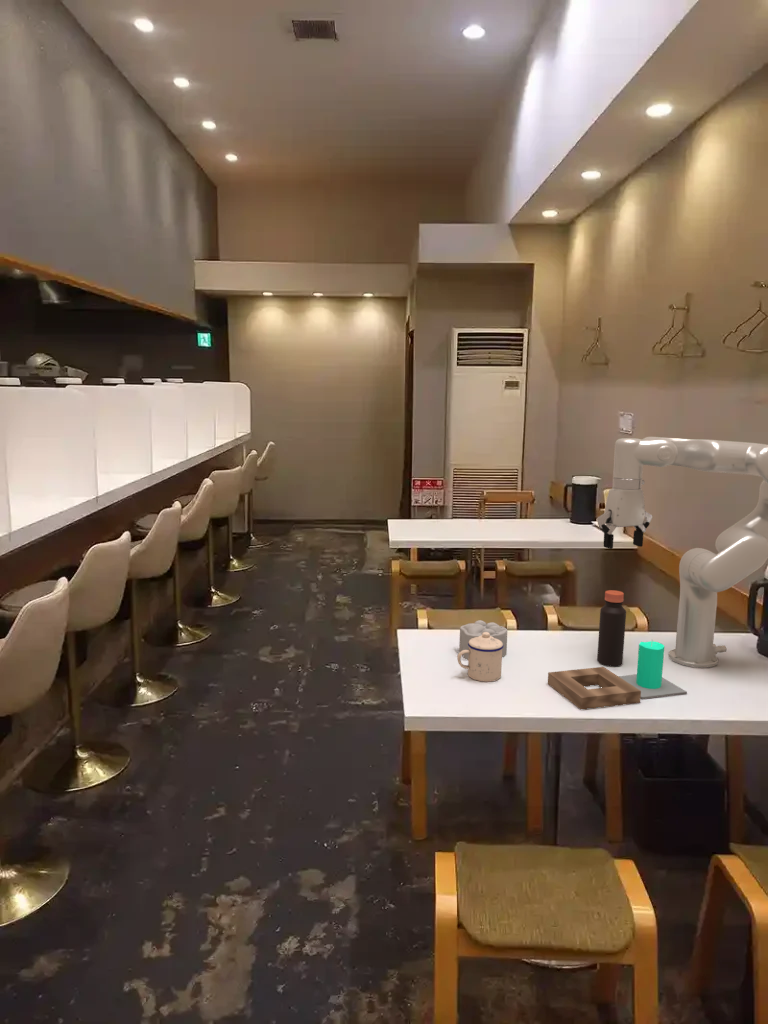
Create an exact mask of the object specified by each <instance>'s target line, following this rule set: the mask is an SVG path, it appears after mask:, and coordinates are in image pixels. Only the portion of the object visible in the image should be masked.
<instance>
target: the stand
mask: <svg viewBox="0 0 768 1024" xmlns="http://www.w3.org/2000/svg"><path fill="white" fill-rule="evenodd" d="M619 676H620V675H617V674H616V673H614V672H612V671H611V670H609V669H608V668H606V667H604V666H598V667H589V668H580V669H570V670H559V671H548V673H547V685H548V686H550V687H551V688H552V689H554V690H555V691H556V692H557V693H559V694H560V695H562V697H564V698H565V699H567V701H569V702H571V704H573V705H574V706H575V707H577V708H578V709H579V708H580V709H579V710H581V709H585V710H588V709H587V708H593V709H597V708H596V707H601V708H605V707H604V706H609V707H614V706H615V705H618V706H623V704H626V705H631V704H632V705H634V704H640V703H641V699H640V698H641V691H640V690H639V689H637V688H636V687H634V686H633V685H631V684H629V683H628V682H626V681H625V680H623V679H622V678H620V677H619ZM590 685H594V686H598V685H599V686H598V688H597V687H596V688H590V689H589V688H586V687H591V686H590ZM584 686H585V687H584ZM601 687H602V688H601Z"/></svg>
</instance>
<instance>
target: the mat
mask: <svg viewBox="0 0 768 1024" xmlns="http://www.w3.org/2000/svg"><path fill="white" fill-rule="evenodd" d="M618 676H619V677H620V678H622V679H623V680H625V681H626V682H628V683H629V684H631V685H633V686H634V687H636V688H637V689H639V690H640V691H641V698H640V700H650V699H656V698H666V697H675V696H682V695H687V694H688V691H686V690H684V689H683V688H681V687H680V686H678V685H676V684H674V683H673V682H671V681H669V680H667V679H666V678H665V677H663V676H662V683H661V687H660V688H657V689H648V688H644V687H641V686H639V685H637V683H636V678H637V673H636V674H628V675H627V674H626V675H618Z"/></svg>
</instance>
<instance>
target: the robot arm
mask: <svg viewBox="0 0 768 1024" xmlns="http://www.w3.org/2000/svg"><path fill="white" fill-rule="evenodd" d="M613 453H614V454H613V455H614V456H613V472H612V487H611V488H609V490H608V492H607V496H606V501H605V507H604V513H602V514H601V515H599V516H598V517H597V518H596V521H597V524H598V528H600V530H601V532H602V533H603V547H604V548H606V549H609V550H612V549H613V548H614V537H615V536H614V534H613V533H614V531H615V530H616V528H624V527H625V528H626V527H634V528H635V530H634V531H633V538H632V539H633V540H632V545H633V546H636V547H640V548H641V547H643V544H644V543H643V542H644V533H645V532H646V531H647V529H648V527H649V526H650V523H651V521H652V518H653V515H652V514H651V513H649V512H648V511H646V510H645V494H644V490H643V489H642V488H643V485H645V479H643V475H644V473H643V472H644V466H649V467H656V468H657V467H658V468H664V467H668V466H675V467H676V466H677V467H684V468H688V469H693V470H696V471H701V472H710V473H722V474H725V473H726V474H737V475H751V476H755V477H756V476H757V477H760V478H762V481H761V483H760V485H759V490H758V492H759V493H758V494H759V495H758V496H759V497H758V501H757V503H756V506H755V508H754V509H753V510H752V511H751V512H750V513H749V514H747V515H746V516H744V517H743V518H741V519H740V520H738V521H737V522H736V523H734V524H732V525H731V526H729V527H728V528H727V529H724V530H723V531H722V532H721V533H720V534H718V536H717V538H716V539H715V542H714V543H715V549H716V551H717V552H718V553H716V552H713V551H711V550H708V549H706V548H703V547H702V548H701V547H700V548H699V547H695V548H694V547H693V548H691V549H689V550H687V551H686V552H685V553H683V555H682V557H681V558H680V560H679V566H678V571H679V586H680V587H679V603H678V613H677V626H676V635H675V636H676V638H675V646H674V647H675V648H673V649H671V650H670V651H669V652H668V657H669V659H670V660H671V661H673V662H675V663H677V664H680V665H683V666H685V667H686V666H687V667H691V668H700V669H701V668H702V669H704V668H712V667H715V666H717V665H718V663H719V659H718V657H717V656H716V655H718V653H719V654H721V653H727V651H728V650H727V649H728V647H727V645H717V644H715V643H714V637H715V629H716V628H715V627H716V616H717V607H718V593H720V592H724V591H727V590H728V589H730V588H732V587H733V586H735V585H736V584H738V583H739V582H741V581H742V580H744V579H746V578H747V577H748V576H750V575H751V574H753V573H754V572H755V571H757V570H759V569H760V568H761V567H762V566H764V565H765V564H766V562H767V560H768V444H765V443H759V442H757V443H756V442H745V441H734V440H733V441H731V440H720V439H718V440H716V439H700V438H699V439H697V438H696V439H689V438H677V437H676V438H675V437H662V436H661V437H659V436H646V437H644V438H642V439H640V438H635V437H632V438H631V437H627V438H626V437H625V438H624V437H623V438H618V439H617V440H616V441H615V443H614V452H613Z"/></svg>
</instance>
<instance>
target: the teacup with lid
mask: <svg viewBox="0 0 768 1024" xmlns="http://www.w3.org/2000/svg"><path fill="white" fill-rule="evenodd" d="M468 646H469V650H462V651H461V652H459V653H458V654H457V660H456V661H457V663H458V665H459V666H460V667H461V668H463V669H465V670H467V675H468V677H470V679H472V680H475V681H479V682H486V683H487V682H495V681H499V679H501V677H502V665H503V664H502V663H503V658H502V648H503V643H502V642H501V641H500V640H498V639H496V638H493V637H492V636H490V633H488V632H483V633H482V635H481V636H479V637H475V638H472V639H470V640H469V642H468ZM465 653H469V657H468V661H467V665H466V664H463V662H462V660H461V658H462V656H463V654H465Z"/></svg>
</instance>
